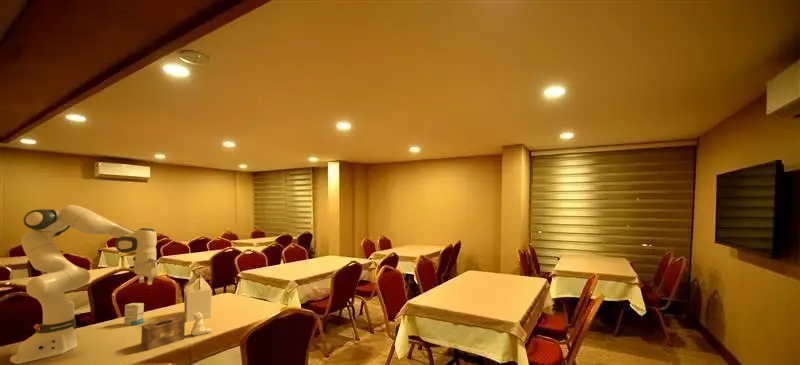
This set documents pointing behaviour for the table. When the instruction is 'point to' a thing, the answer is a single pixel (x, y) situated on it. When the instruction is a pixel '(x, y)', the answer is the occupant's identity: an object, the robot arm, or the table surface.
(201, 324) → the sitting furry creature
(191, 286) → the gable box
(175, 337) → the coin box
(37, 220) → the robot arm
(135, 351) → the table surface
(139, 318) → the ink box
